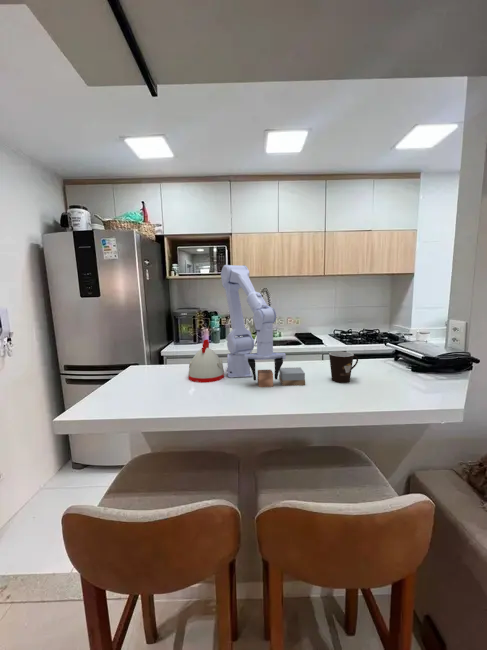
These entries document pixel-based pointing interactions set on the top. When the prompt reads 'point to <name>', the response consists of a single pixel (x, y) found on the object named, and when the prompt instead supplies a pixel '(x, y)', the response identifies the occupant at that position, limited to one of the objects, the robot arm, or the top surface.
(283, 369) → the slate slab
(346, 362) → the coffee mug
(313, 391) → the top surface
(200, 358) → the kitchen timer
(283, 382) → the walnut slab
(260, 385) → the terracotta cube
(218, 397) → the top surface
